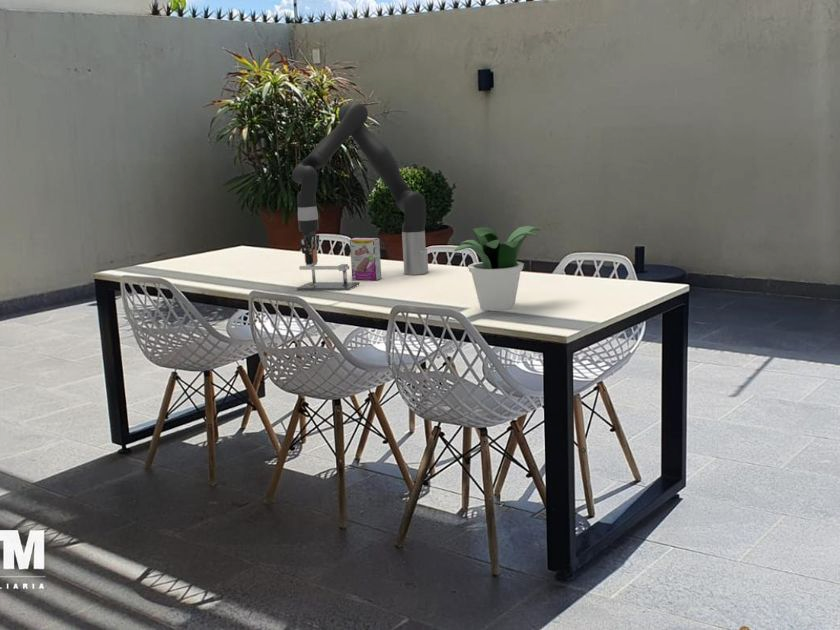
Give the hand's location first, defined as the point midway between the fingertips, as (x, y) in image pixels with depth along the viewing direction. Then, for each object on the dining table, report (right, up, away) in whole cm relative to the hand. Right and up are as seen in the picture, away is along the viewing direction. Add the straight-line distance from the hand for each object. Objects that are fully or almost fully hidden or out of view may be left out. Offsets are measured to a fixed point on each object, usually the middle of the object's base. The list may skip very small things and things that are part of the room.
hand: (311, 263), depth 376 cm
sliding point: (0, -8, +2) cm, 8 cm away
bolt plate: (+7, -9, +1) cm, 11 cm away
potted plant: (+69, -17, -51) cm, 87 cm away
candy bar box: (+20, -6, +15) cm, 26 cm away
